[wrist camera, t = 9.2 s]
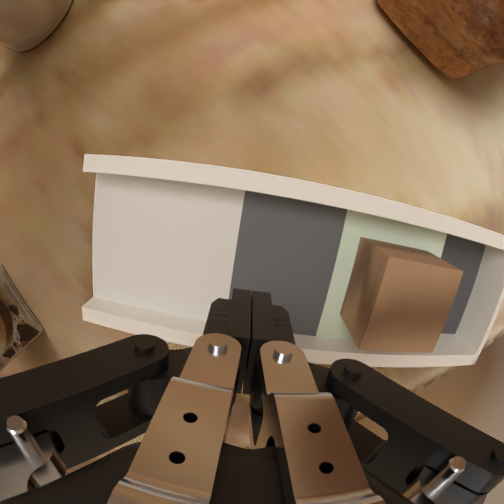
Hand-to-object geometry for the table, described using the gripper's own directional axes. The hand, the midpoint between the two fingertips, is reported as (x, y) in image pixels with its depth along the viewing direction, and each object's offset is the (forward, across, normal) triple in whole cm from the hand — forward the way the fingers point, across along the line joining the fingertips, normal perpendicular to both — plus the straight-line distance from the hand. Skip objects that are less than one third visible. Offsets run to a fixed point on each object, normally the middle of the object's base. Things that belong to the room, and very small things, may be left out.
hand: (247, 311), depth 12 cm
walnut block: (+9, -10, +1) cm, 14 cm away
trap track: (+11, -5, +1) cm, 12 cm away
